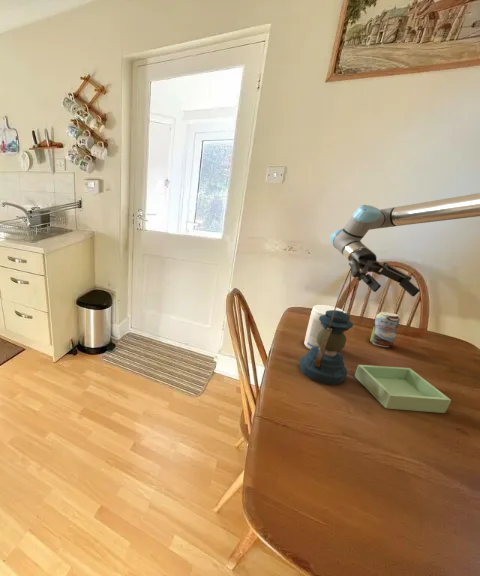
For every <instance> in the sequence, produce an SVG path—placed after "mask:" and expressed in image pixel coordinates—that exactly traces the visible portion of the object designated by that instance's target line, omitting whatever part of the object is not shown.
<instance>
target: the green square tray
mask: <svg viewBox="0 0 480 576" xmlns="http://www.w3.org/2000/svg"><path fill="white" fill-rule="evenodd" d="M354 373H355V374H354V377H355V379H357V381H359V383H360V384H361V385H362V386H364V388H366V390H367V391H368V392H369V393H370V394H371V395H372V396H373V397H374V398H375V399H376V400H377V401H378V402H379V404H381V405H382V406H383V408H385V409H392V410H402V411H403V410H404V411H415V412H416V411H417V412H427V413H428V412H430V413H439V414H440V413H441V414H446V413H447V411H448V408H449V407H450V404H451V401H452V399H450V398H449V397H448V396H447V395H446V394H444V393H443V392H442V391H440V390H439V389H437V388H436V387H435V386H434V385H433V384H431V383H430V382H428V381H427V379H425V378H424V377H422V376H421V375H420V374H418V373H417V371H414V370H413V369H412V368H411V367H401V366H383V365H371V364H370V365H369V364H358V365H357V368H356V371H355V372H354Z"/></svg>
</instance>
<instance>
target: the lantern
mask: <svg viewBox="0 0 480 576" xmlns="http://www.w3.org/2000/svg"><path fill="white" fill-rule="evenodd" d="M348 278H349V282H348V290H347V294H346V297H345V301H344V303H343V307H342V310H343V311H345V307H346V304H347V301H348V297H349V293H350V289H351V281H352V266H351V267H350V268H349V271H348V272H347V275H346V277H345V281H344V283H343V285H342V287H341V289H340V292H339V295H338V297H337V299H336V303H335V305H334V307H335V309H334V310H329V311H326V313H325V315H322V316H320V317H319V320H320V321H321V324H322V325H323V327H324V329H322V330H320V331H319V333H318V336H317V343H318V345H319V346H316V347H312V348H311V349H309V350H308V351H307V352H306V354H304V355H302V356H301V357H300V360H299V369H300V371H301V373H302V374H303V375H304V376H306V377H307V378H308V379H309V380H312V381H314V382H317V383H319V384H324V385H328V386H329V385H331V386H335V385H340V384H341V383H342V382H344V381H345V380H346V377H347V375H348V370H347V368H346V366H345V361H344V356H343V355H342V353H340V352H339V351H341V350H343V349H344V348H345V346H346V343H347V336H346V334H345V333H346V332H347V331H349V330H350V329H352V328H353V326H354V323H353V322H352V321H351V320H350V319H351V316H350V315H349V314H348V313H347V312H346V313H344V312H343V311H338V310H336V308H337V307H338V303H339V299H340V297H341V295H342V292H343V290H344V287H345V285H346V283H347V281H348Z"/></svg>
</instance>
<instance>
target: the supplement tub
mask: <svg viewBox="0 0 480 576" xmlns="http://www.w3.org/2000/svg"><path fill="white" fill-rule="evenodd" d="M334 309H335V306H333V305H328V304H327V305H326V304H316V305H314V306H313V307H312V310H311V312H310V316H309V320H308V323H307V328H306V333H305V337H304V342H303V343H304V346H305V347H306V348H307V349H308V350H310V349H311V348H312V347H316V346H319V345H318V343H317V336H318V333H319V331H320V330H322V329H324V327H323V325H322V324H321V321H320V320H319V317H320V316H322V315H325V313H326V311H329V310H334ZM336 310H338V311H343V308H342V309H341V308H339V307H336ZM343 312H344V313H346V314H347V312H346V311H345V310H344V311H343Z"/></svg>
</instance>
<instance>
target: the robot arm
mask: <svg viewBox="0 0 480 576" xmlns="http://www.w3.org/2000/svg"><path fill="white" fill-rule="evenodd" d="M476 217H480V192H478V193H477V192H476V193H471V194H465V195H459V196H453V197H447V198H442V199H441V198H440V199H435V200H430V201H424V202H418V203H411V204H406V205H405V204H404V205H402V206H401V205H400V206H395V207H394V206H393V207H387V208H382V209H379V208H377V207H375V206H373V205H368V204H362V205H360V206H358V208H357V209H356V210H355V211H354V212H353V213H352V215H351V217H350V218H349V219H348V222H347V223H345V226H344V227H343V228H339V229H337V230H335V232H332V234H331V235H330V236H329V242H330V243H331V245H332V246H333V247H334V249H336V250H337V251H338V252H339V253H340V254H341V255H342V256H343V257H344V258H345V259H346V260H347V261H348V266H349V267H350V268H351V266H352V274H351V277H353V278H356V280H357V281H359V282H361V281H362V282H363V283H365V284H366V285H367V287H368V288H370V289H371V291H372V292H374V293H376V292H378V290H379V289H380V288H381V287H382V285H381V284H380V283H379V282H378V281H377V280H376V279H375V278H374V277H373V276H372V275H371V273H375V274H377V275H379V276H384V277H385V278H388V279H390V280H392V281H394V282H397V284H398V285H399V286H400V287H401V288H402V289H403V290H404V291H406V292H407V293H408V294H409V295H410V296H411V297H416V295H417V294H418V293H420V292H421V289H419V288H418V287H417V286H416V285H414V284H413V283H412V282H411V280H412V279H413V278H412V277H411V276H410V275H408V274H406V273H405V272H402V271H401V270H399V269H397V268H395V267H394V266H392V265H391V264H389V263H388V262H383V263H381V262H379V261H378V259H377V255H376V254H375V252H373V251H372V250H371V249H370V248H369V247H368V246H367V245H366V244H364V243H363V242H362V240H363V238H365V236H366V235H367V233H368V232H369V231H370V230H377V229H378V230H379V229H385V228H386V229H387V228H393V227H400V226H409V225H418V224H426V223H434V222H435V223H436V222H442V221H443V222H444V221H451V220H459V219H460V220H461V219H468V218H476ZM367 272H368V273H367Z"/></svg>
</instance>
